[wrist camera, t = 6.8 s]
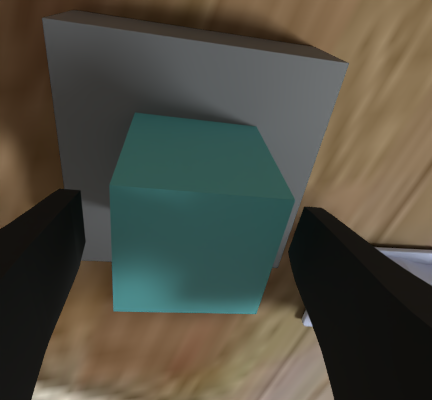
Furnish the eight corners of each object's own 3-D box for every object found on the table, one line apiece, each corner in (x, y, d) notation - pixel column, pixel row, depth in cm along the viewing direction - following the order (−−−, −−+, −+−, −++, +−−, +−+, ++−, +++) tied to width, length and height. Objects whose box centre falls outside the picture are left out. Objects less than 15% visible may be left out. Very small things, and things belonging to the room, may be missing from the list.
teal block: (256, 126, 12) (295, 200, 8) (234, 220, 15) (256, 314, 10) (135, 112, 11) (109, 185, 7) (133, 213, 14) (113, 311, 10)
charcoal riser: (314, 46, 14) (348, 63, 11) (263, 225, 20) (277, 268, 17) (73, 9, 13) (42, 17, 10) (90, 215, 18) (73, 260, 15)
